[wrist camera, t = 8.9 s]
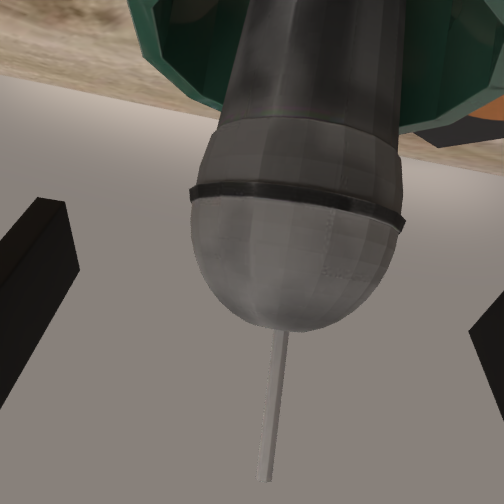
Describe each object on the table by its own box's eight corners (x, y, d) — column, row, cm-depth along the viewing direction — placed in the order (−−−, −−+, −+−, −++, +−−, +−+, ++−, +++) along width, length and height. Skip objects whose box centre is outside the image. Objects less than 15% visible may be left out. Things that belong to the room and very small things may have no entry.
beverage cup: (228, -58, 17) (147, 410, 16) (276, -285, 10) (137, 533, 9) (379, -5, 18) (314, 423, 18) (514, -168, 11) (417, 535, 10)
